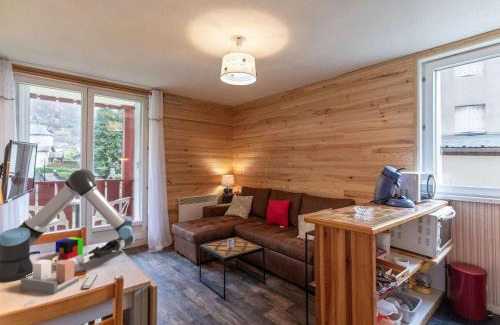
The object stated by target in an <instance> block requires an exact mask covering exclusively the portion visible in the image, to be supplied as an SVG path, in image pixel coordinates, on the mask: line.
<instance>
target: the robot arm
mask: <svg viewBox="0 0 500 325" xmlns="http://www.w3.org/2000/svg"><path fill="white" fill-rule="evenodd" d="M95 180H96V179H95V175H94V173H93V172H92V171H91V170H88V169H86V168H85V169H84V168H81V169H79V170H75V171H73V172H72V173H71V174H70V175H69V177H68V179H66V180H65V182H63V184H64V186H63V187H62V188H61V189H60V190H59V191H58V192H57V193H56V194H55V195H54V196H53V197H52V198H50V200H49V201H48V202H47V203H46V204H45V205H44V206H43V207H42V208H40V210H39V211H37V213H36V214H35V215H33V217H31V218H28V219H25V220H24V221H23V222H22V223H21V224H20V225H19V226H18V227H14V228H9V229H7V230H5V231H3V232H1V233H0V283H9V282H14V281H19V280H21V279H22V278H24V277H25V276H26V275H28V274H30V273H32V272H33V262H32V261H31V256H30V254H31V248H30V247H32V246H33V244H34V243H35V244H36V242H37V241H38V240H39V238H40V237H41V236H43V234H44V233H45V232H46V230H47V226H49V225H50V223H52V222H53V220H55V218H56V217H57V216H58V215H59V214H60V213H61V212H62V211H64V210H65V208H66V207H67V206H68V205H70V203H72V202H73V200H74V199H75V198H77V197H78V196H80V197H81V198H84V199H86V201H87V202H89V204H90V205H91V206H92V207H93V208H94V209H95V210H96V212H98V214H100V215H101V217H102V218H104V220H105V221H106V222H107V223H108V224H109V225H110V226H111V227H112V228H113V229H114V230H115V232H116V233H117V235H118V237H117V238H114V239H112V240H109V241H108V242H106V244H105V245H102V246H101V247H100V246H96V247H95V248H94V249H92V250H90V251H89V252H88V254H86V255H85V256H82V257H81V264H85V263H87V262H90V261H91V260H94V259H101V258H104V257H107V256H109V255H113V254H115V253H117V252H119V251H122V250H123V249H124V248H127V247H129V246H131V245H132V244H134V243H135V240H136V237H135V234H133V217H132V216H122V215H121V214H120V212H119V211H118V210H117V209H116V208H115V207H114V206H113V205H112V203H110V201H108V199H107V198H106V197H105V196H104V194H102V193H101V192H100V190H98V185H97V184H96V183H95ZM32 274H33V273H32ZM25 278H26V277H25Z"/></svg>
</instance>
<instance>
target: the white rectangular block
mask: <svg viewBox="0 0 500 325" xmlns="http://www.w3.org/2000/svg"><path fill="white" fill-rule="evenodd" d="M32 265H33V273H32V278H31V279H39V280H46V279H48V278H50V277H51V275H52V274H53V264H52V259H44V258H43V259H40V260H39V261H35V262H32Z"/></svg>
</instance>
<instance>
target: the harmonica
mask: <svg viewBox="0 0 500 325" xmlns="http://www.w3.org/2000/svg"><path fill="white" fill-rule="evenodd" d="M97 277H98V274H90V275H89V277H88V278H86V281H85V282H84V284H83V286H82V287H81V291H86V290H90V289H91V287H92V286H93V283H94V282H95V281H96V279H97Z"/></svg>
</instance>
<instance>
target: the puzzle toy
mask: <svg viewBox="0 0 500 325" xmlns="http://www.w3.org/2000/svg"><path fill="white" fill-rule="evenodd" d="M83 247H84V238H81V237H76V236H75V237H74V236H70V237H66V238H63V239H60V240H56V241H55V255H56V256H58V257H59V258H58V259H62V260H71V259H73V258H77V257H78V256H81V255H83V254H84V248H83ZM55 255H54V256H55Z"/></svg>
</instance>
